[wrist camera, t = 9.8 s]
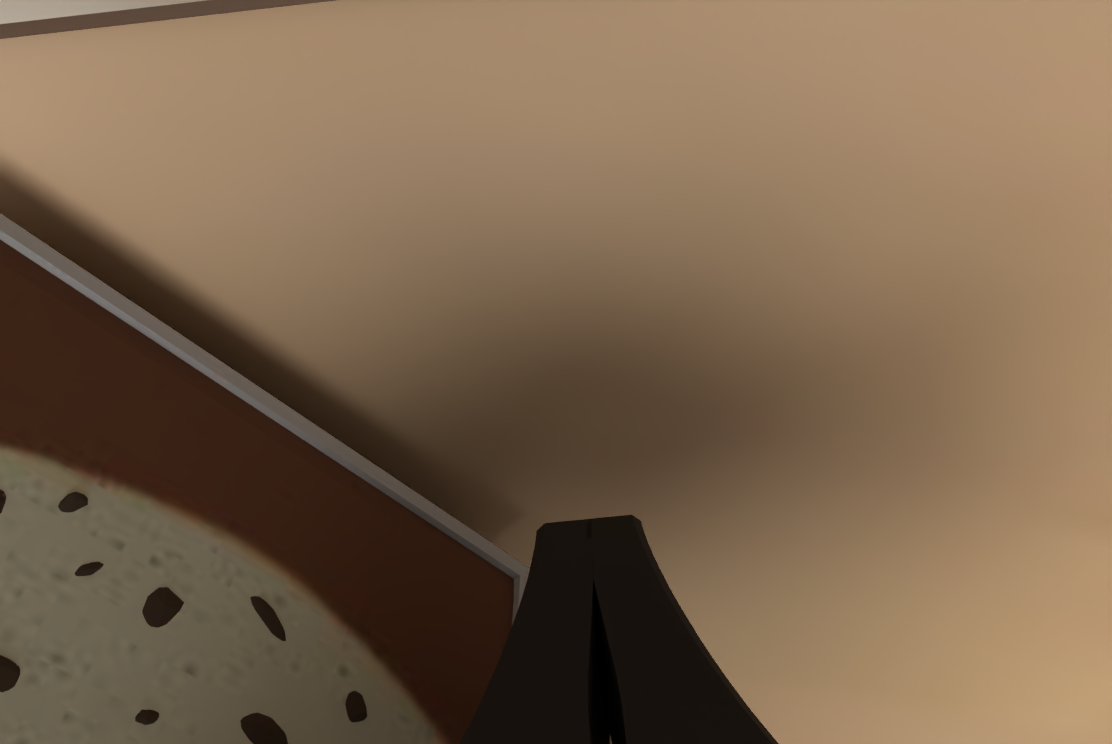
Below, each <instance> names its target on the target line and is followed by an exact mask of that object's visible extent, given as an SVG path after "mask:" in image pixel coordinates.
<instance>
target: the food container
mask: <svg viewBox="0 0 1112 744" xmlns="http://www.w3.org/2000/svg"><path fill="white" fill-rule="evenodd" d="M529 571H530V568H528V567H527V566H525V565H524V564H522V563H521V562H519V561H518V560H516V559H515V558H513V557H512V556H510V555H509V554H507V553H506V552H504V551H503V550H501V549H500V548H498V547H497V546H495V545H494V544H492V543H491V542H489V541H488V540H486V539H485V538H483V537H482V536H481V535H479V534H478V533H476V532H475V531H473V530H472V529H470V528H469V527H467V526H466V525H464V524H463V523H461V522H460V521H458V520H457V519H455V518H454V517H452V516H451V515H449V514H448V513H446V512H445V511H443V510H442V509H440V508H439V507H437V506H436V505H434V504H433V503H431V502H430V501H428V500H427V499H425V498H424V497H422V496H421V495H419V494H418V493H416V492H415V491H413V490H412V489H410V488H409V487H407V486H406V485H405V484H403V483H402V482H400V481H399V480H397V479H396V478H394V477H393V476H391V475H390V474H388V473H387V472H385V471H384V470H382V469H381V468H379V467H378V466H376V465H375V464H373V463H372V462H370V461H369V460H367V459H366V458H364V457H363V456H361V455H360V454H358V453H357V452H355V451H354V450H352V449H351V448H349V447H348V446H346V445H345V444H343V443H342V442H340V441H339V440H337V439H336V438H334V437H333V436H331V435H330V434H329V433H327V432H326V431H324V430H323V429H321V428H320V427H318V426H317V425H315V424H314V423H312V422H311V421H309V420H308V419H306V418H305V417H303V416H302V415H300V414H299V413H297V412H296V411H294V410H293V409H291V408H290V407H288V406H287V405H285V404H284V403H282V402H281V401H279V400H278V399H276V398H275V397H273V396H272V395H270V394H269V393H267V392H266V391H264V390H263V389H261V388H260V387H258V386H257V385H255V384H254V383H253V382H251V381H250V380H248V379H247V378H245V377H244V376H242V375H241V374H239V373H238V372H236V371H235V370H233V369H232V368H230V367H229V366H227V365H226V364H224V363H223V362H221V361H220V360H218V359H217V358H215V357H214V356H212V355H211V354H209V353H208V352H206V351H205V350H203V349H202V348H200V347H199V346H197V345H196V344H194V343H193V342H191V341H190V340H188V339H187V338H185V337H184V336H182V335H181V334H179V333H178V332H177V331H175V330H174V329H172V328H171V327H169V326H168V325H166V324H165V323H163V322H162V321H160V320H159V319H157V318H156V317H154V316H153V315H151V314H150V313H148V312H147V311H145V310H144V309H142V308H141V307H139V306H138V305H136V304H135V303H133V302H132V301H130V300H129V299H127V298H126V297H124V296H123V295H121V294H120V293H118V292H117V291H115V290H114V289H112V288H111V287H109V286H108V285H106V284H105V283H103V282H102V281H101V280H99V279H98V278H96V277H95V276H93V275H92V274H90V273H89V272H87V271H86V270H84V269H83V268H81V267H80V266H78V265H77V264H75V263H74V262H72V261H71V260H69V259H68V258H66V257H65V256H63V255H62V254H60V253H59V252H57V251H56V250H54V249H53V248H51V247H50V246H48V245H47V244H45V243H44V242H42V241H41V240H39V239H38V238H36V237H35V236H33V235H32V234H30V233H29V232H27V231H26V230H25V229H23V228H22V227H20V226H19V225H17V224H16V223H14V222H13V221H11V220H10V219H8V218H7V217H5V216H4V215H2V214H1V213H0V744H460V742H461V740H462V738H463V736H464V734H465V733H466V731H467V729H468V727H469V725H470V723H471V721H472V719H473V717H474V715H475V713H476V711H477V709H478V706H479V704H480V702H481V700H482V698H483V695H484V693H485V691H486V689H487V686H488V684H489V682H490V679H491V677H492V675H493V673H494V670H495V668H496V666H497V664H498V661H499V659H500V657H501V654H502V652H503V649H504V647H505V644H506V641H507V639H508V636H509V633H510V630H511V627H512V625H513V622H514V619H515V616H516V613H517V611H518V608H519V605H520V602H521V599H522V595H523V592H524V589H525V585H526V582H527V579H528V575H529Z"/></svg>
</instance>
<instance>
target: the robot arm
mask: <svg viewBox="0 0 1112 744" xmlns="http://www.w3.org/2000/svg"><path fill="white" fill-rule="evenodd" d="M610 736H611V741H612V744H778V743H777V741H776V740H775V739H774V738H773V737H772V735H771V734H770V733H769V732H768V731H767V729H766V728H765V727H764V726H763V724H762V723H761V722H760V721H759V720H758V718H757V717H756V716H755V715H754V714H753V712H752V711H751V710H750V708H749V707H748V706H747V705H746V703H745V702H744V701H743V699H742V698H741V697H740V695H739V694H738V693H737V691H736V690H735V689H734V687H733V686H732V685H731V683H730V682H729V681H728V679H727V678H726V676H725V675H724V673H723V672H722V671H721V669H720V668H719V666H718V665H717V664H716V662H715V661H714V659H713V658H712V656H711V655H710V653H709V652H708V650H707V649H706V647H705V646H704V644H703V643H702V641H701V640H700V638H699V637H698V635H697V633H696V632H695V630H694V628H693V627H692V625H691V624H690V622H689V620H688V619H687V617H686V615H685V614H684V612H683V610H682V609H681V607H680V606H679V604H678V602H677V600H676V599H675V597H674V595H673V593H672V591H671V590H670V588H669V586H668V584H667V582H666V580H665V578H664V576H663V574H662V572H661V570H660V568H659V566H658V564H657V562H656V560H655V558H654V556H653V553H652V551H651V549H650V546H649V544H648V541H647V539H646V536H645V533H644V530H643V527H642V523H641V521H640V520H639V519H637V518H636V517H634V516H633V515H625V516H615V517H605V518H595V519H585V520H575V521H565V522H554V523H545V524H543V525H542V526H541V527H540V528H539V529H538V530H537V533H536V542H535V548H534V553H533V558H532V563H531V567H530V571H529V575H528V579H527V582H526V585H525V589H524V592H523V595H522V599H521V602H520V605H519V608H518V611H517V613H516V616H515V619H514V622H513V625H512V627H511V630H510V633H509V636H508V639H507V641H506V644H505V647H504V649H503V652H502V654H501V657H500V659H499V661H498V664H497V666H496V668H495V670H494V673H493V675H492V677H491V679H490V682H489V684H488V686H487V689H486V691H485V693H484V695H483V698H482V700H481V702H480V704H479V706H478V709H477V711H476V713H475V715H474V717H473V719H472V721H471V723H470V725H469V727H468V729H467V731H466V733H465V734H464V736H463V738H462V740H461V742H460V744H610Z"/></svg>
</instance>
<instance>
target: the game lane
mask: <svg viewBox="0 0 1112 744" xmlns="http://www.w3.org/2000/svg"><path fill="white" fill-rule="evenodd" d="M326 1H334V0H0V39H3V38H12V37H21V36H29V35H38V34H47V33H56V32H64V31H73V30H82V29H90V28H99V27H108V26H117V25H125V24H134V23H143V22H151V21H160V20H169V19H178V18H186V17H195V16H204V15H212V14H221V13H230V12H239V11H247V10H256V9H265V8H273V7H282V6H291V5H300V4H308V3H317V2H326ZM610 744H612V741H611V736H610Z"/></svg>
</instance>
